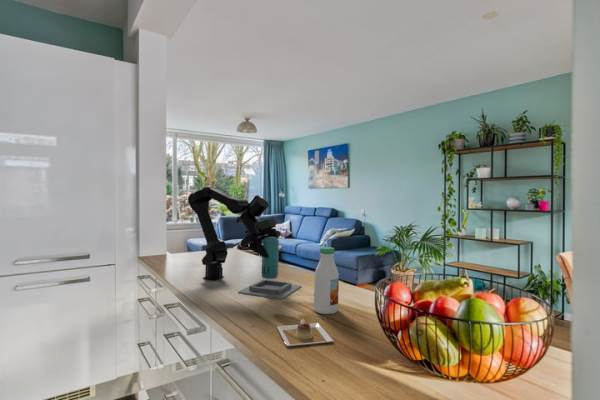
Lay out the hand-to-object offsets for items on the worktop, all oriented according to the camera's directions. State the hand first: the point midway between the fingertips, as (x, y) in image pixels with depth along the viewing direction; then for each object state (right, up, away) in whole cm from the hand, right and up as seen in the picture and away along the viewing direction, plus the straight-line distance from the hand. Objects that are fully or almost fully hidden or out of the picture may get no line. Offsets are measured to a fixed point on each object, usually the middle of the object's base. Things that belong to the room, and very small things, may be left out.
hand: (273, 256), depth 125 cm
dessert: (+11, -15, -39) cm, 43 cm away
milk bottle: (+18, -14, -20) cm, 30 cm away
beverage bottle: (-1, -10, +1) cm, 10 cm away
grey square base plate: (-1, -13, +2) cm, 13 cm away
